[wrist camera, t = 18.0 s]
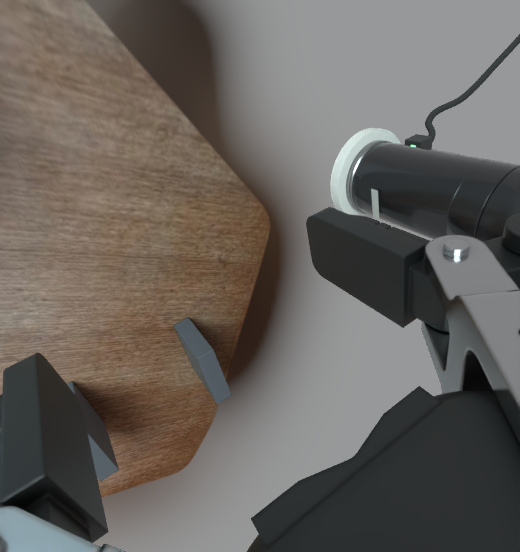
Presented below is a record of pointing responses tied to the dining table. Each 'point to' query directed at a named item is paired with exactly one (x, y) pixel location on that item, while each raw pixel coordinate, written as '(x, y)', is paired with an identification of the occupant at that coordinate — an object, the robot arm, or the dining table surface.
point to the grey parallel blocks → (201, 363)
